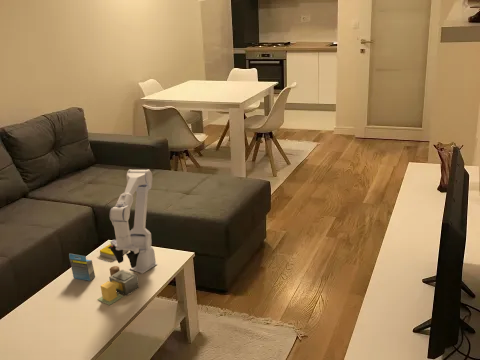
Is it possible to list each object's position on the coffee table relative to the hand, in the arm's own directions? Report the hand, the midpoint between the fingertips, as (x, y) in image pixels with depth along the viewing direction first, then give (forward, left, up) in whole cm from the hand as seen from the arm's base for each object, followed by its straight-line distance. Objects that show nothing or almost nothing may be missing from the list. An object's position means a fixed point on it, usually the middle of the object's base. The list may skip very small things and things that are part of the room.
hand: (127, 264), depth 213 cm
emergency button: (-16, -28, -11) cm, 34 cm away
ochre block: (+11, 0, -10) cm, 15 cm away
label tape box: (+6, -22, -10) cm, 25 cm away
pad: (+11, 0, -10) cm, 15 cm away
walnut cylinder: (+1, -8, -10) cm, 13 cm away
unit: (+3, 0, -10) cm, 10 cm away
